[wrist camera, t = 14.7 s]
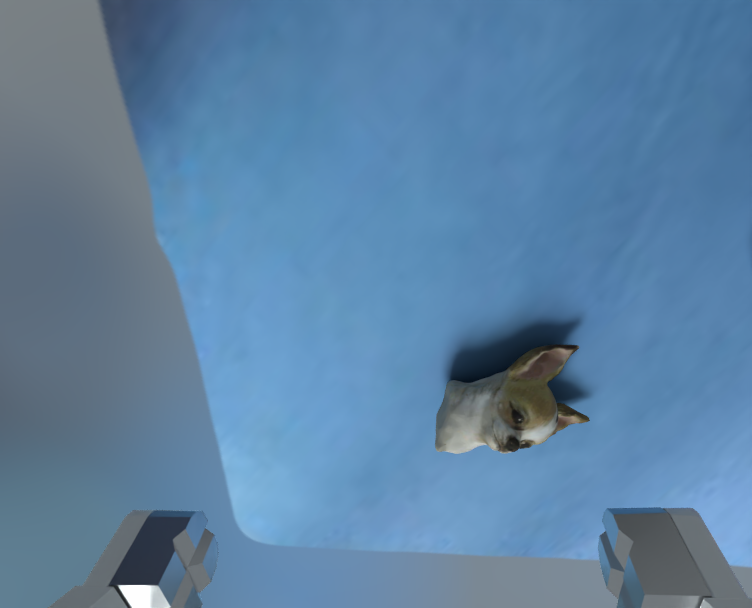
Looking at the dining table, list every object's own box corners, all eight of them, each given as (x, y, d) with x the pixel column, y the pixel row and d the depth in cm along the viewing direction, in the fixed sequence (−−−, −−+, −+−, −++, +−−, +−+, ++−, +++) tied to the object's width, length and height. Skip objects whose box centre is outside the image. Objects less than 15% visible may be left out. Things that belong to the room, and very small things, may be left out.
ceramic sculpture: (422, 421, 40) (603, 380, 38) (416, 361, 48) (567, 323, 45) (451, 501, 45) (614, 470, 43) (442, 435, 53) (579, 405, 50)
